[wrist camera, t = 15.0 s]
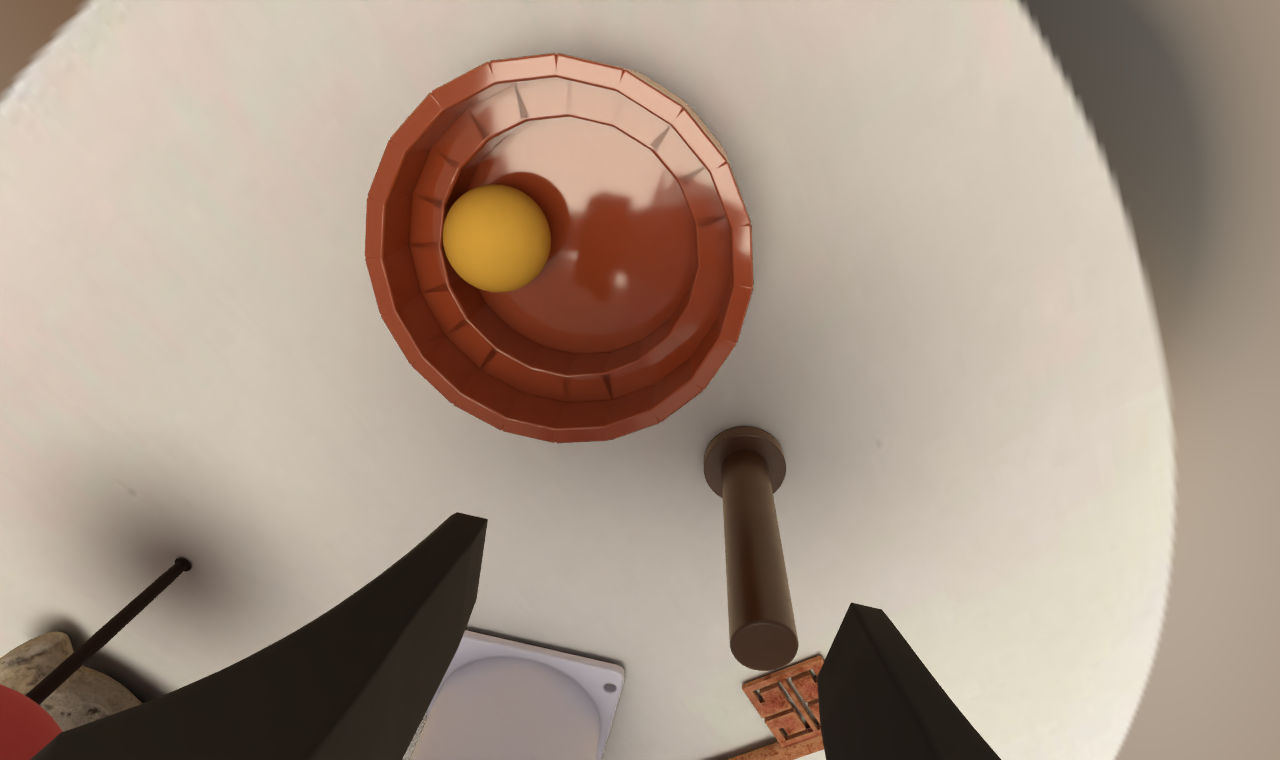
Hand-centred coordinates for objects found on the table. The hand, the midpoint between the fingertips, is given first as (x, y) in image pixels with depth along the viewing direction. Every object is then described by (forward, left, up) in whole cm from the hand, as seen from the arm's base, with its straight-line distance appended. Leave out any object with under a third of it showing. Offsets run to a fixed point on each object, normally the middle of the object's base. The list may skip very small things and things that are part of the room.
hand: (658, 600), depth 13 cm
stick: (-2, -3, -10) cm, 11 cm away
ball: (+4, +6, -8) cm, 11 cm away
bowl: (+4, +4, -10) cm, 12 cm away
